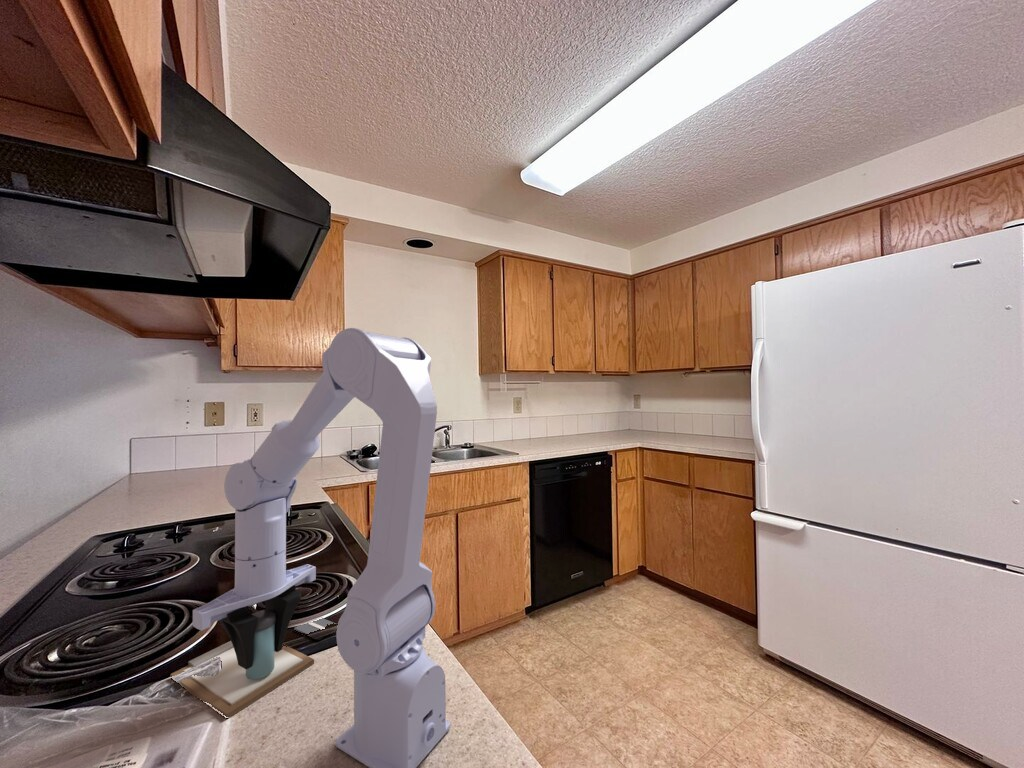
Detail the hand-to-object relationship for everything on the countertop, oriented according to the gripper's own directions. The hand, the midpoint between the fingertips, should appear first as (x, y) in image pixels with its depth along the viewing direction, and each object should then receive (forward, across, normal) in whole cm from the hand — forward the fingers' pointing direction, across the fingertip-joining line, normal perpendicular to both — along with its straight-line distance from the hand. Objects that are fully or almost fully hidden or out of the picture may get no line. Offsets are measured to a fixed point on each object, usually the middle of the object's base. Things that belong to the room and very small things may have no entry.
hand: (260, 656), depth 53 cm
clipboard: (+3, 0, -4) cm, 5 cm away
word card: (+3, -11, -4) cm, 12 cm away
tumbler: (+2, 0, 0) cm, 2 cm away
